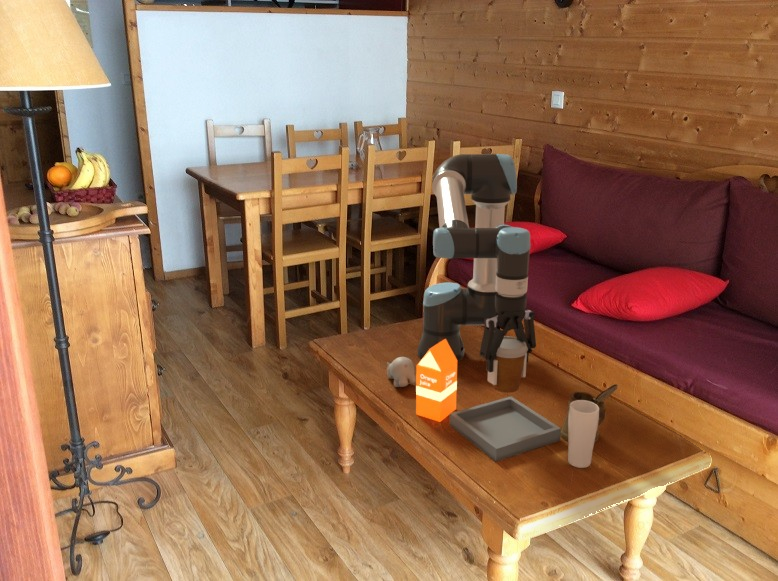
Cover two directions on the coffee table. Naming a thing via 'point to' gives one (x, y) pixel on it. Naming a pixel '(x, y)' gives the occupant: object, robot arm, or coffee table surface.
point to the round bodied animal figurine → (401, 372)
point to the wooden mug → (589, 397)
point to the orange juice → (436, 383)
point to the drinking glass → (582, 432)
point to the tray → (504, 428)
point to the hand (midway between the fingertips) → (506, 378)
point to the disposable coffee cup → (510, 364)
